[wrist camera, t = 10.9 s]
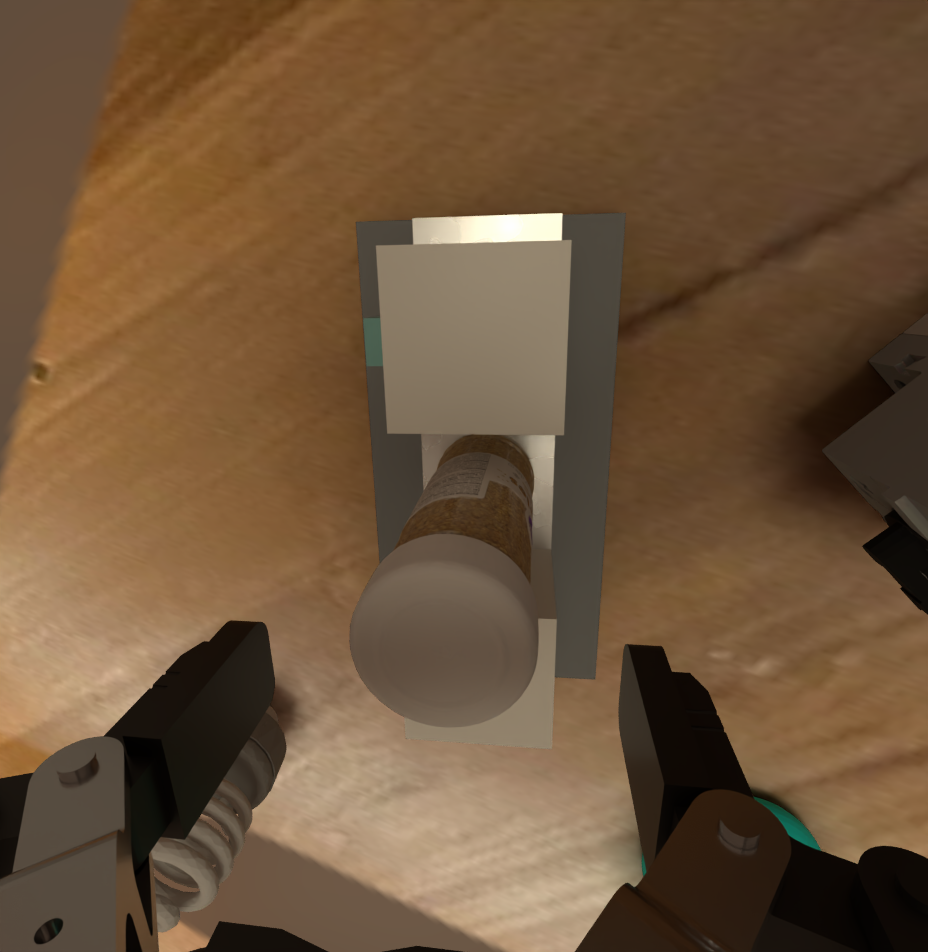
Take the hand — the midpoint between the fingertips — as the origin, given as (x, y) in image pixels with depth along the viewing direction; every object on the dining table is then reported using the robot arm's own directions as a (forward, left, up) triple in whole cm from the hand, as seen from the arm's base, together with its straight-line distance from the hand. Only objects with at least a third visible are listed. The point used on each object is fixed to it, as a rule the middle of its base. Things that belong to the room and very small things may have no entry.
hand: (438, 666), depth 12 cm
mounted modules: (0, 0, -14) cm, 14 cm away
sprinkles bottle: (0, 0, -14) cm, 14 cm away
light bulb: (+16, -14, -17) cm, 27 cm away
